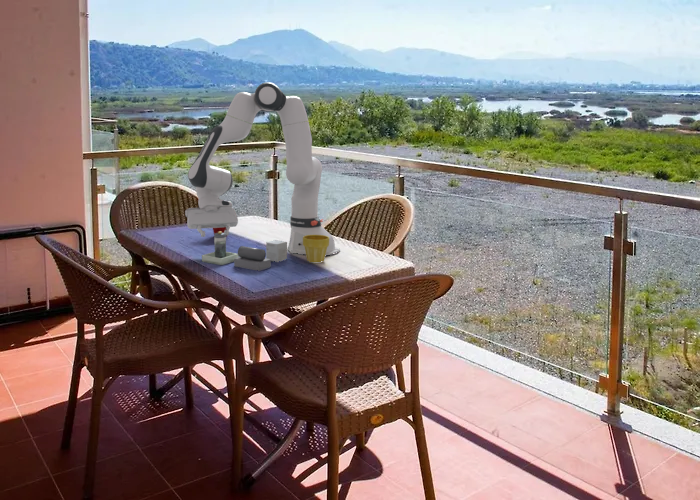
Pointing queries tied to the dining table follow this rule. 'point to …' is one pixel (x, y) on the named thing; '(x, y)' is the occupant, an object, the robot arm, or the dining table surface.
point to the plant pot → (315, 247)
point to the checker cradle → (252, 258)
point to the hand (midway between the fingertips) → (215, 235)
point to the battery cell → (220, 244)
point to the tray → (220, 261)
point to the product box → (276, 250)
